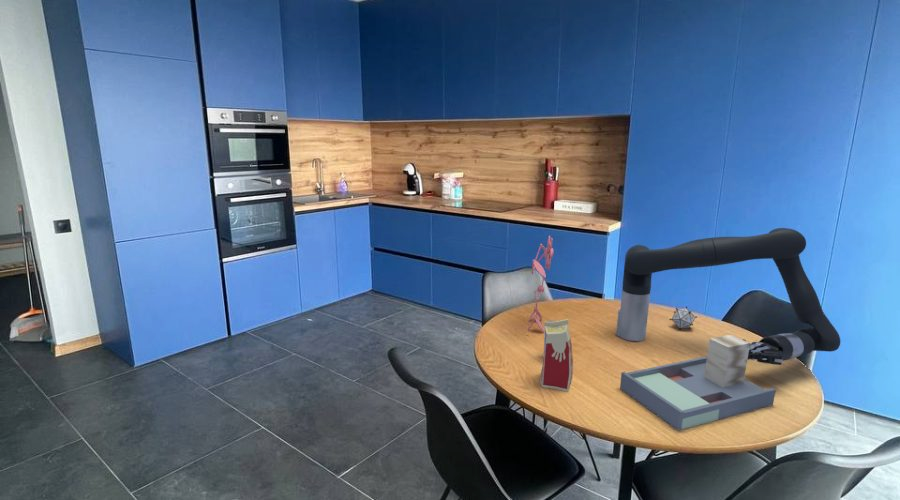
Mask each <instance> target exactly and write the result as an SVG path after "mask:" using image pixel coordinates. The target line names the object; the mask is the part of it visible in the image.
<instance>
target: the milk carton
mask: <svg viewBox="0 0 900 500" xmlns="http://www.w3.org/2000/svg"><path fill="white" fill-rule="evenodd" d="M569 320H570V319H569V318H566V319H561V321H560V320H557V321H556V320H555V321H556V322H548V321H542V322H541V324H543V325H544V330H545V329H546V333H547V336H546V346H545V353H544V352H543V356H544V357H543V359H542V366H541V371H540V377H539V382H540V385H541V388H546V389H554V390H558V391H563V392H567V393H569V391H570V388H571V385H572V382H573V381H572V380H573V377H574V376H573V373H574V357H573V344H572V339H571V333H570V329H569Z"/></svg>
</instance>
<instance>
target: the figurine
mask: <svg viewBox="0 0 900 500" xmlns="http://www.w3.org/2000/svg"><path fill="white" fill-rule="evenodd" d="M547 237H548V238H547V242H546V243H547V244H546V247H545V246H544V245H543V244H542V243H540V244H539V246H538V250H537V253H536V256H535V259H532V266H531V275H533V274H534V272H535V270H536V272H537V273H538V274H539V275H541V277H542V280H541V281H542V282H541V285H539V286H537V288H536V290H534V301H535V306H534V307H533V309H534V310H533V311H532V313H531V315H530V316H529V318H528V320H527V321H528V322H529V321H531V319H532V317H533V320H532V321H531V323H530V325H529V326H528V327H527V331H529V330H530V329H531V327H532V325H533V324H534V323H536V324H537V326H538V328H539V329H540V330H541V331H542V333H545V328H544V327H543V325H542V324H543V323H542V322H541V320H543V319H542V318H543V316H542V314H541V313H540V311H539V308H538V300H539V298H540V296H541V294H542V293H544V291H545V287H544V281H545V279H546V278H547V277H546V271H545V270H546V269H547V270H548V271H549V272H550V270H551V262H552V261H551V259H553V257H554V255H555V254H554V253H555V252H554V248H553V242H554V241H553V237H551V235H548V236H547ZM541 249H542V250H543V253H542V255H540V258H539V259H538V257H539V254H540V251H541ZM543 258H545V265H544V266H545V269H544V267H543V266H542V265H541V264H540V261H541V260H542V259H543ZM536 292H538V293H539V295H538V297H537V296H536V295H537V294H536ZM552 319H555V320H556V318H555V317H554V316H553V317H552ZM561 320H562V319H561ZM561 320H559V321H561ZM525 336H528V337H529V335H527V334H525Z"/></svg>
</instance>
